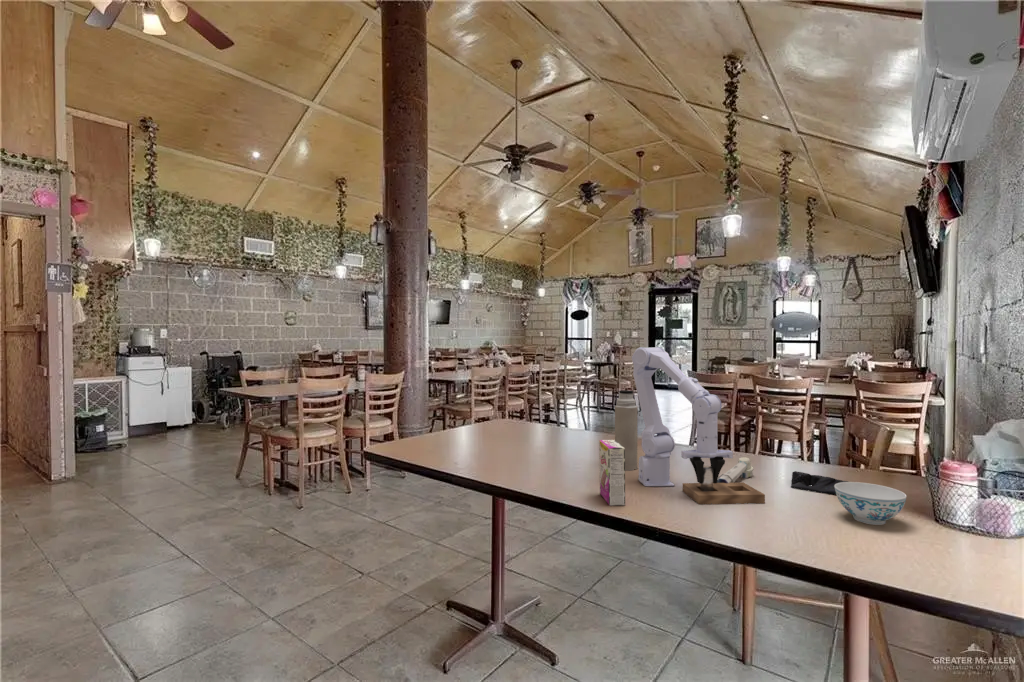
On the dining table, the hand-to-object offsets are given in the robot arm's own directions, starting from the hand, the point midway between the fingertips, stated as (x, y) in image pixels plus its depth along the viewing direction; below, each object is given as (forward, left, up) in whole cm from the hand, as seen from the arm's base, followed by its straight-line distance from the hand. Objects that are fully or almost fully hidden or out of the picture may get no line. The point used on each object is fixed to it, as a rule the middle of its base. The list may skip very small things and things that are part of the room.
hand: (706, 482), depth 146 cm
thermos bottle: (-14, +35, -5) cm, 38 cm away
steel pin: (0, 0, -3) cm, 3 cm away
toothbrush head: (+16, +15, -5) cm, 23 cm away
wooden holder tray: (+5, 0, -4) cm, 6 cm away
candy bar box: (-28, -1, -5) cm, 29 cm away
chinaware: (+34, -20, -5) cm, 39 cm away
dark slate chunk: (+42, +6, -5) cm, 43 cm away
